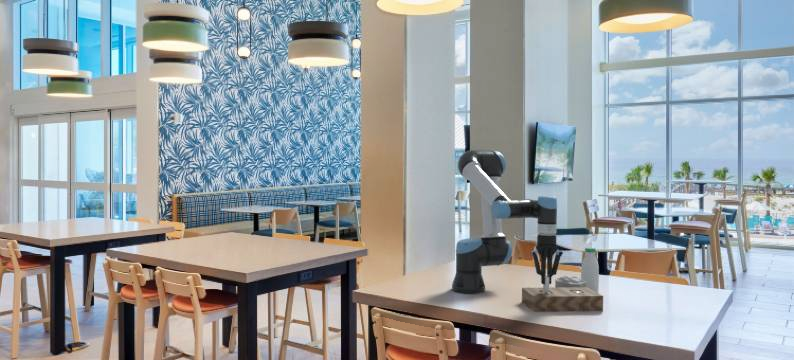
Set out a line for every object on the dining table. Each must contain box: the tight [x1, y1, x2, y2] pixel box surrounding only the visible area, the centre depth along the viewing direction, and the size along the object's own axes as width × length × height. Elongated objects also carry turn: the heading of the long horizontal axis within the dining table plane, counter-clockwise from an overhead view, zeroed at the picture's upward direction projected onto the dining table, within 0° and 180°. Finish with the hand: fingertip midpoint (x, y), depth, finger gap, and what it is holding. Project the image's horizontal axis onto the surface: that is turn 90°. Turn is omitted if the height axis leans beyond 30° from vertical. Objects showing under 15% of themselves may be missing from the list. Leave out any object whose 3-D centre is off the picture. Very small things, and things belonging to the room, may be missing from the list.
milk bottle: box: [580, 247, 600, 293], centre depth 261 cm, size 8×8×20 cm
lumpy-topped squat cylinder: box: [554, 275, 587, 288], centre depth 251 cm, size 10×13×9 cm
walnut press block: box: [521, 287, 604, 313], centre depth 234 cm, size 28×16×6 cm, turn 94°
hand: (546, 292), depth 233 cm, fingers closed
